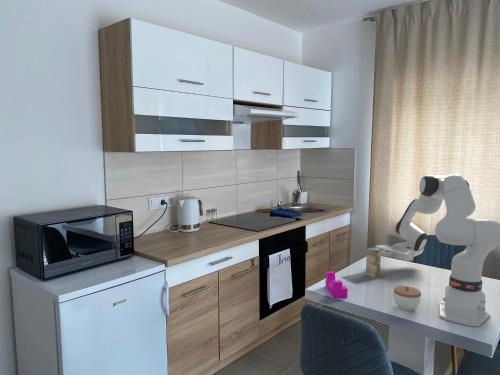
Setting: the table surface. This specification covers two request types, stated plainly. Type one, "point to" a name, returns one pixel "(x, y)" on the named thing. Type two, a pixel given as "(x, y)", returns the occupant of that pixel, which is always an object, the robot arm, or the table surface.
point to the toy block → (335, 286)
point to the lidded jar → (407, 297)
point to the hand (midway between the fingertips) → (382, 254)
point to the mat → (361, 277)
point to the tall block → (373, 262)
